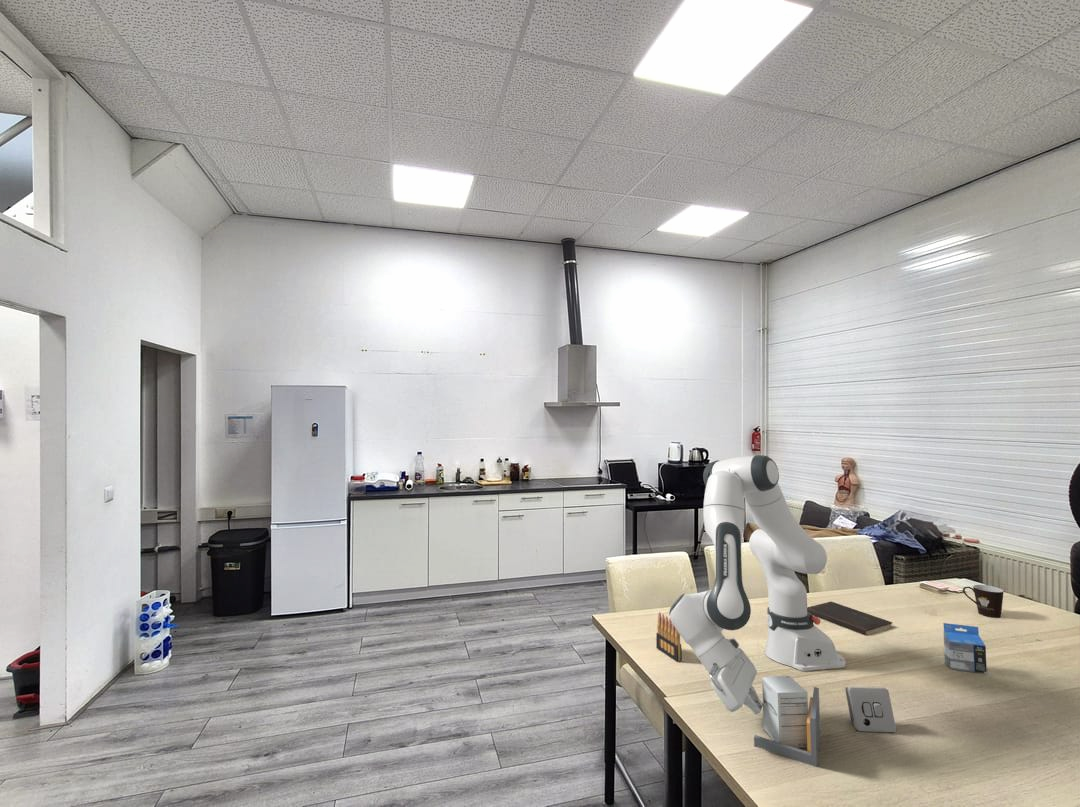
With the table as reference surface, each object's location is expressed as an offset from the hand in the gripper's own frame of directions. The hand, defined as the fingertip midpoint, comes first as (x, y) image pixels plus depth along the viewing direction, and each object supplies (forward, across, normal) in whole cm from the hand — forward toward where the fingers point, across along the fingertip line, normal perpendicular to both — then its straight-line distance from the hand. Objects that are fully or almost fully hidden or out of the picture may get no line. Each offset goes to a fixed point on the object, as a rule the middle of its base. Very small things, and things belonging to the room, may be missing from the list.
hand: (760, 710), depth 115 cm
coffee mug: (+44, +125, -42) cm, 139 cm away
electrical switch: (+18, +17, -12) cm, 28 cm away
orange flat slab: (+10, +1, -5) cm, 11 cm away
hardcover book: (+14, +89, -8) cm, 90 cm away
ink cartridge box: (+35, +65, -31) cm, 80 cm away
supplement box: (+7, 0, 0) cm, 7 cm away
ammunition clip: (-18, +26, +26) cm, 41 cm away
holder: (+8, +1, -1) cm, 8 cm away
